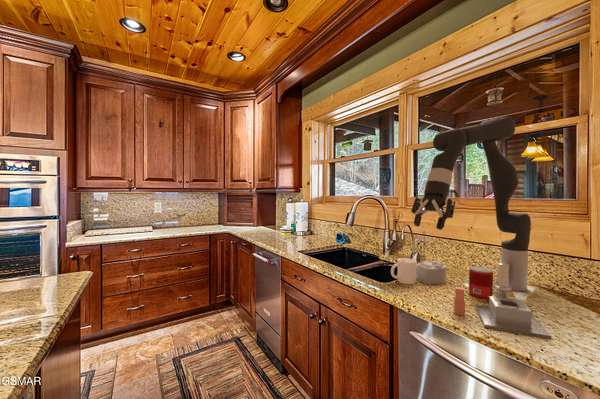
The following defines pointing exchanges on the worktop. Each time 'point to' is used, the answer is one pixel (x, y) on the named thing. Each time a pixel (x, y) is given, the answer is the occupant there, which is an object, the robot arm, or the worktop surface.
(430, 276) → the lumpy-topped squat cylinder
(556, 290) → the worktop surface
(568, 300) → the worktop surface
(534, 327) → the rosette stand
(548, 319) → the worktop surface
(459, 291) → the stepped block
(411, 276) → the mug
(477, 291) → the canned food
